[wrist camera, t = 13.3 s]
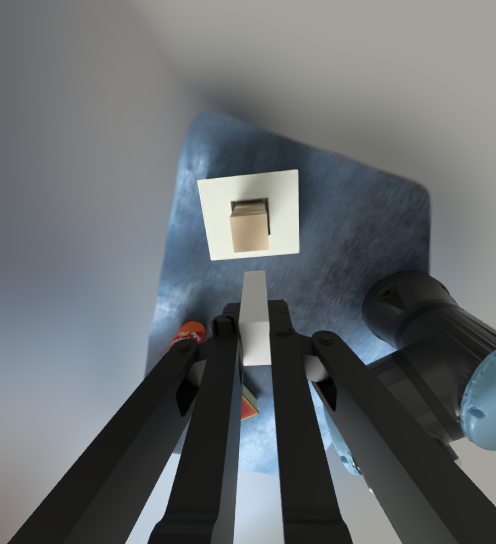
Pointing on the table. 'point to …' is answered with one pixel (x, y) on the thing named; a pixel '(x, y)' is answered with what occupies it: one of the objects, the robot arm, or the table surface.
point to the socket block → (231, 190)
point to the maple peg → (249, 227)
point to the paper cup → (190, 332)
